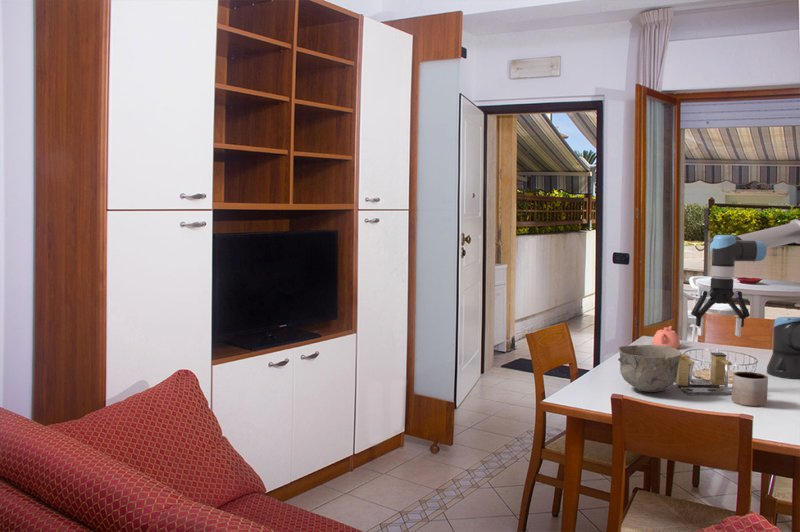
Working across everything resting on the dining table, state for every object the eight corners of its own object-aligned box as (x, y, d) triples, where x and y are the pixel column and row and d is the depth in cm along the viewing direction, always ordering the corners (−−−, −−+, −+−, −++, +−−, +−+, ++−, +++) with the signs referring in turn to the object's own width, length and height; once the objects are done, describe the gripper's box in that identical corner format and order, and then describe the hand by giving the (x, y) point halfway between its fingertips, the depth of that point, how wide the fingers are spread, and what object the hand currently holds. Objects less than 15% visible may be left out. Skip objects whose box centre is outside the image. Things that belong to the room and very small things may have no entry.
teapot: (648, 349, 332) (648, 328, 331) (657, 342, 347) (658, 323, 346) (675, 352, 326) (676, 331, 325) (683, 345, 341) (684, 325, 340)
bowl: (649, 402, 243) (651, 358, 241) (603, 387, 262) (604, 346, 261) (694, 394, 253) (696, 352, 252) (647, 380, 272) (648, 341, 271)
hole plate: (726, 390, 258) (726, 387, 258) (733, 395, 252) (733, 392, 252) (681, 390, 259) (681, 387, 259) (688, 394, 253) (688, 391, 253)
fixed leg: (683, 382, 266) (684, 353, 265) (696, 390, 254) (697, 360, 253) (674, 382, 266) (675, 353, 265) (686, 390, 254) (687, 360, 253)
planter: (724, 398, 248) (726, 371, 247) (754, 398, 249) (756, 371, 248) (742, 407, 237) (743, 379, 236) (773, 407, 238) (775, 378, 237)
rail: (717, 386, 264) (717, 383, 264) (719, 388, 262) (719, 385, 262) (676, 386, 264) (676, 383, 264) (678, 387, 262) (678, 384, 262)
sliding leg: (719, 381, 265) (720, 352, 264) (733, 390, 253) (735, 359, 252) (709, 381, 265) (710, 352, 264) (723, 390, 253) (724, 359, 252)
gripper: (752, 277, 263) (748, 334, 265) (683, 276, 263) (680, 333, 265) (762, 279, 255) (758, 338, 257) (691, 278, 256) (688, 336, 258)
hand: (719, 335), depth 261 cm, fingers open, 13 cm apart
